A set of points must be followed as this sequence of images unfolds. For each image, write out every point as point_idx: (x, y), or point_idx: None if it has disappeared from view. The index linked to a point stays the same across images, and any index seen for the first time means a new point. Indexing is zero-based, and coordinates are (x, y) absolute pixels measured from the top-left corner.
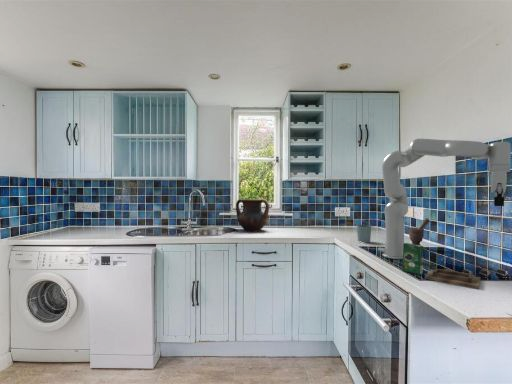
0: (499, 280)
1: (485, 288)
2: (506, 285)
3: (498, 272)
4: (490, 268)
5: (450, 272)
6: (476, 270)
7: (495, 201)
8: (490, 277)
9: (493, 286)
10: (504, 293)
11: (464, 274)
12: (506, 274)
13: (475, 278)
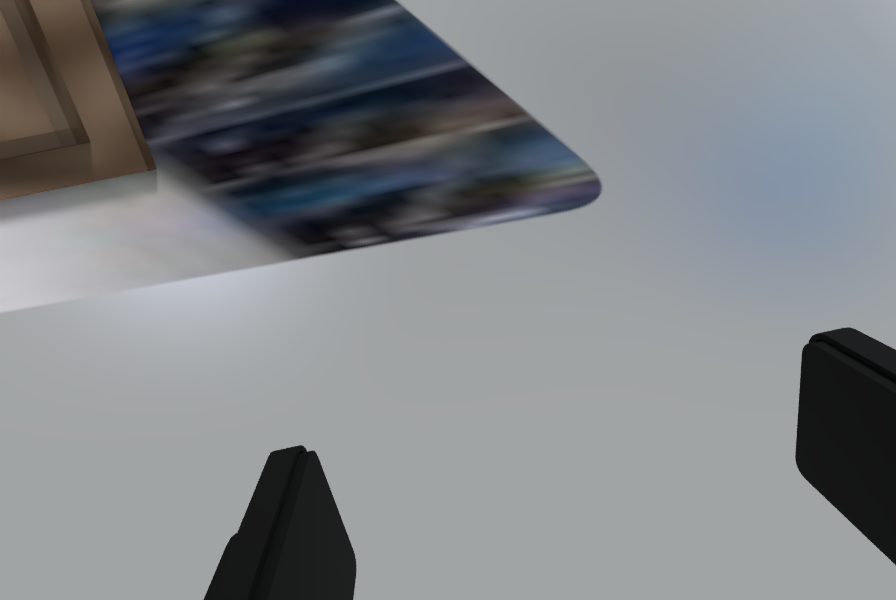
0: (258, 234)
1: (19, 224)
2: (185, 275)
3: (452, 191)
4: (528, 136)
5: (10, 20)
6: (393, 89)
7: (240, 548)
8: (282, 189)
9: (100, 240)
10: (27, 297)
11: (47, 105)
12: (437, 230)
13: (96, 157)
